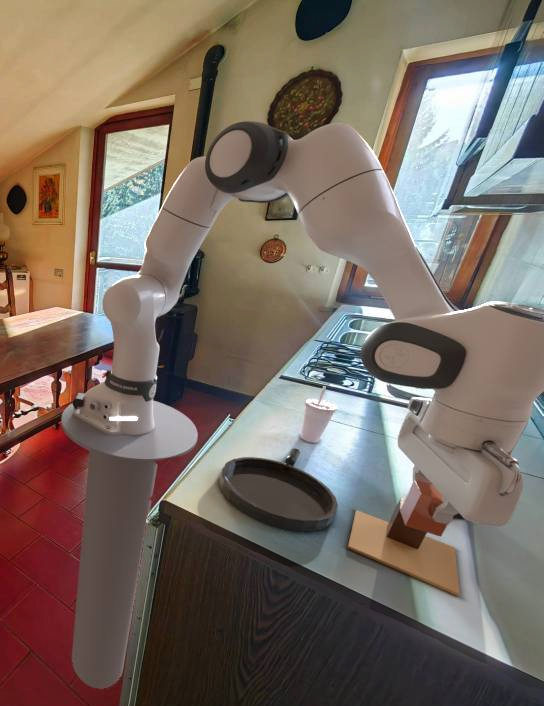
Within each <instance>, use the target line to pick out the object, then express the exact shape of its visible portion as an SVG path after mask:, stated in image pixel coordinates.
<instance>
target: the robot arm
mask: <svg viewBox="0 0 544 706" xmlns="http://www.w3.org/2000/svg"><path fill="white" fill-rule="evenodd" d="M185 166H186V167H184V169H183V170H182V172H181V173H180V174H179V176H178V178H177V179H176V181H175V182H174V183H173V186H172V187H171V189H170V191H169V192H168V194H167V196H166V197H165V199H164V201H163V204H162V206H161V208H160V210H159V211H158V214H157V216H156V217H155V220H154V222H153V224H152V226H151V228H150V230H149V232H148V234H147V236H146V238H145V241H144V249H145V251H144V255H143V260H142V262H141V266H140V269H139V271H138V272H137V273H136V275H131V276H127V277H122V278H121V279H119V280H118V281H116V282H114V283H113V284H112V285H111V286H109V287H108V288H107V290H106V291H105V292H104V295H103V298H102V302H101V303H102V311H103V313H104V316H105V317H106V318H107V319H108V321H109V322H110V325H111V331H112V338H113V353H112V365H111V368H110V369H108V370H106V372H103V373H102V374H101V375H102V376H101V378H102V379H104V378H105V379H104V381H103V382H101V383H100V382H99V383H98V384H96V385H94V386H93V387H91V388H90V389H87V391H86V392H83V393H82V392H78V393H77V394H76V395H75V398H74V399H73V401H72V403H73V406H74V409H73V415H75V416H77V417H78V418H80V419H82V420H84V421H85V422H87V423H89V424H91V425H92V426H94V427H96V428H98V429H99V430H101V431H103V432H105V433H106V434H108V435H120V434H125V435H141V434H146V433H149V432H150V431H152V430H153V429H154V427H155V424H154V418H153V401H154V398H155V395H156V392H157V382H158V376H157V369H158V364H159V356H160V344H159V342H158V341H157V335H156V320H157V318H159V317H161V316H163V315H166V314H167V313H168V312H170V311H171V310H172V308H173V307H174V306H175V305H176V304H177V302H178V301H179V298H180V292H181V289H182V286H183V285H184V282H185V279H186V276H187V273H188V272H189V271H188V270H189V268H190V266H191V264H192V262H193V260H194V258H195V256H196V255H197V253H198V251H199V249H200V247H201V246H202V244H203V242H204V241H205V239H206V237H207V236H208V234H209V232H210V230H211V229H212V227H213V225H214V223H215V221H216V220H217V218H218V216H219V214H220V213H221V211H222V210H223V208H224V207H225V206H226V205H227V204H228V203H230V202H231V201H232V202H233V201H234V200H237V199H238V201H240V202H242V203H256V204H268V203H275V202H279V201H282V200H285V199H286V198H290V200H291V201H292V204H293V205H294V208H295V210H296V213H297V216H298V217H299V220H300V222H301V224H302V227H303V229H304V231H305V232H306V234H307V235H308V237H309V238H310V239H311V241H312V242H313V243H314V245H315V246H316V247H317V248H318V250H320V251H321V252H324V253H326V254H327V255H331V256H334V257H337V258H339V259H340V258H341V259H343V260H345V261H347V262H349V263H351V264H354V265H356V266H357V267H359V268H361V269H362V270H363V271H365V272H366V273H367V274H368V275H369V276H370V277H371V278H372V280H373V281H374V283H375V285H376V287H377V288H378V290H379V292H380V294H381V296H382V298H383V299H384V301H385V303H386V305H387V306H388V309H389V310H390V312H391V314H392V315H393V318H394V320H393V321H390V322H387V323H385V324H383V325H380V326H378V327H376V328H375V329H373V330H372V331H371V332H370V333H369V334H368V335H367V336H366V337H365V339H364V340H363V342H362V345H361V348H360V360H361V363H362V365H363V367H364V368H365V370H366V372H367V373H368V374H370V375H371V376H372V377H373V378H375V379H377V380H378V381H380V382H382V383H385V384H390V385H396V386H400V387H409V388H415V389H423V390H433V391H434V394H433V396H432V398H429V397H417V396H412V397H411V398H410V399H409V401H408V404H407V410H408V412H407V414H406V415H405V416H404V419H403V422H402V424H401V426H400V429H399V432H398V435H397V447H398V449H399V450H400V451H401V452H402V453H403V454H404V455H405V456H406V457H407V458H408V459H409V460H410V462H412V464H413V468H412V483H411V486H410V488H409V490H410V489H411V487H412V485H413V483H414V481H415V480H417V481H421V482H425V483H429V484H431V483H432V484H433V485H434V486H435V487H436V489H437V490H438V491H439V492H440V493H441V494H442V495H443V497H442V499H441V501H442V502H443V503H442V504H441V505H439V506H435V505H433V506H432V508H431V511H429V514H430V516H431V517H432V518H433V519H434V521H436V522H439V523H444V524H448V525H449V524H450V523H451V522H452V520H453V518H454V517H453V516H454V515H456V514H458V513H460V515H461V516H462V517H463V518H462V519H465V521H468V522H471V523H474V524H475V523H476V524H479V525H483V526H491V527H502V526H505V525H507V524H508V523H509V522H510V520H511V519H512V517H513V515H514V513H515V511H516V508H517V506H518V503H519V501H520V499H521V496H522V493H523V491H524V488H525V487H524V486H525V479H524V476H523V473H521V470H520V467H519V465H520V463H519V460H518V459H517V458H516V457H514V456H513V455H511V454H510V455H509V454H507V452H510V451H511V450H512V449H513V447H514V446H515V447H516V445H517V443H518V442H517V440H518V439H519V440H520V438H521V436H522V434H523V433H524V431H525V429H526V427H527V426H528V424H529V421H530V419H531V418H532V414H533V406H534V403H535V401H536V399H537V398H538V397H539V396H540V395H541V394H543V392H544V309H541V308H537V307H534V306H530V305H525V304H520V303H512V302H509V301H507V302H506V301H489V302H486V303H484V304H483V303H482V304H481V305H479V306H475V307H471V308H468V309H464V310H463V309H462V310H461V309H459V308H458V307H457V306H456V305H455V304H453V302H451V301H450V299H449V298H448V297H447V295H446V294H445V292H444V290H443V289H442V287H441V286H440V284H439V282H438V281H437V278H436V277H435V274H434V273H433V271H432V270H431V268H430V266H429V265H428V263H427V261H426V259H425V258H424V256H423V254H422V252H421V251H420V249H419V247H418V246H417V244H416V242H415V240H414V239H413V237H412V234H411V232H410V229H409V226H408V225H407V223H406V220H405V218H404V216H403V214H402V211H401V209H400V206H399V203H398V201H397V197H396V195H395V193H394V191H393V188H392V186H391V183H390V181H389V179H388V176H387V175H386V173H385V171H384V169H383V166H382V165H381V163H380V161H379V159H378V158H377V156H376V155H375V153H374V151H373V150H372V148H371V147H370V146H369V144H368V143H367V142H366V141H365V139H364V138H363V137H362V136H361V134H360V133H359V132H358V131H357V130H356V129H355V128H354V127H353V126H351V125H350V124H348V123H344V122H332V123H328V124H327V123H326V124H324V125H322V126H320V127H318V128H315V129H313V130H312V131H310V132H309V133H307V134H306V135H304V136H302V137H301V138H298V139H293V138H292V137H291V136H290V135H289V134H288V133H287V132H286V131H283V130H281V129H278V128H277V127H273V126H271V125H269V124H266V123H264V122H260V121H252V120H251V121H250V120H246V121H245V120H244V121H239V122H236V123H232V124H230V125H229V126H227V127H225V128H224V129H223V130H222V131H220V132H219V133H218V134H217V136H216V137H215V138H214V140H213V141H212V142H211V144H210V146H209V148H208V150H207V153H206V155H205V156H204V155H203V156H198V157H195V158H193V159H192V160H191V161H190V162H189V163H188V164H187V165H185ZM527 423H528V424H527ZM526 425H527V426H526ZM525 426H526V427H525ZM524 428H525V429H524ZM523 430H524V431H523ZM522 432H523V433H522ZM521 433H522V434H521ZM520 435H521V436H520ZM519 437H520V438H519ZM519 440H518V441H519ZM516 442H517V443H516ZM515 444H516V445H515ZM515 447H514V448H515ZM513 450H514V449H513Z"/></svg>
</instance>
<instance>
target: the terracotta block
mask: <svg viewBox="0 0 544 706" xmlns="http://www.w3.org/2000/svg"><path fill="white" fill-rule="evenodd" d="M412 484H413V485H412ZM412 484H411V486H412V487H411V486H410V488H411V489H410V488H409V491H408V493H407V495H406V498H404V499H405V501H404V503H403V505H402V508H401V510H400V512H401V515H402V518H403V520H404V523H405V526H408V527H411V528H414V529H418V530H421V531H424V532H427V534H430V535H434V536H438V537H442V536H443V534H444V532H445V531H446V528H447V527H448V525H449V523H448V524H444V523H439V522H436V521H434V519H433V518H432V517H431V516H430V514H429V511H431V508H432V506H433V505H435V506H439V505H441V504H442V503H443V502H442V501H441V499H442V497H443V495H442V494H441V493H440V492H439V491H438V490H437V489H436V487H435V486H434V485H433V484H429V483H425V482H421V481H417V480H415V481H414V483H413V482H412Z"/></svg>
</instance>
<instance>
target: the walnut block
mask: <svg viewBox="0 0 544 706" xmlns="http://www.w3.org/2000/svg"><path fill="white" fill-rule="evenodd" d="M405 499H406V498H403V497H400V498H399V500H398V502H397V504H396V506H395V509H394V510H393V513H392V514H391V517H390V519H389V520H388V522H389V523H388V527H387V536H386V537H388V538H390V539H393V540H396V541H398V542H401V543H403V544H406V545H408V546H411V547H413V548H416V549H419V547H420V545H421V543H422V541H423V539H424V537H425V536H426V535H427V534H428V532H424V531H421V530H418V529H414V528H411V527H408V526H405V523H404V520H403V518H402V515H401V512H400V510H401V508H402V505H403V503H404V501H405ZM426 537H427V536H426Z"/></svg>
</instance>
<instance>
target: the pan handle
mask: <svg viewBox="0 0 544 706" xmlns="http://www.w3.org/2000/svg"><path fill="white" fill-rule="evenodd" d="M300 454H301V451H300V450H299V448H295V447H294V448H291V450H290V451H289V453H288V455H287V456H286V458H285V460H284V462H283V463H285V465H287V466H293V467H295V464H296V462H297V460H298V458H299V457H300ZM287 466H284V467H283V469H284V470H285V471H289V467H287Z"/></svg>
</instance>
